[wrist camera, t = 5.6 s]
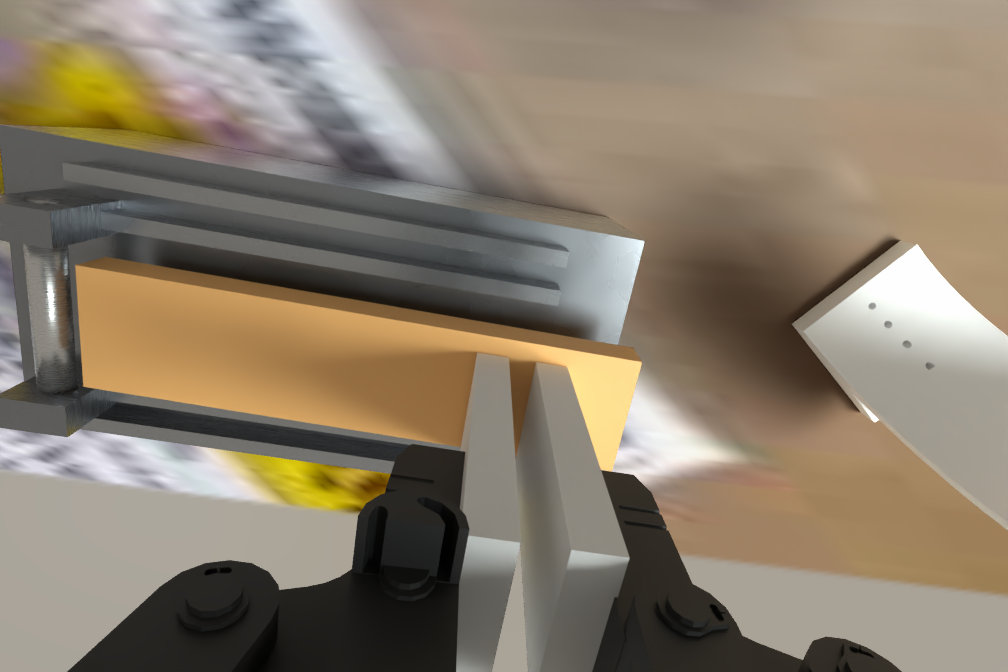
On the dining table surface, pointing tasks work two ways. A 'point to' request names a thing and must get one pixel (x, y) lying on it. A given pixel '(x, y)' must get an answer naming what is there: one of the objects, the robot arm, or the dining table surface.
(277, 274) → the block
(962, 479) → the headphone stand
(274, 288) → the tan flat bar
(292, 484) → the dining table surface
